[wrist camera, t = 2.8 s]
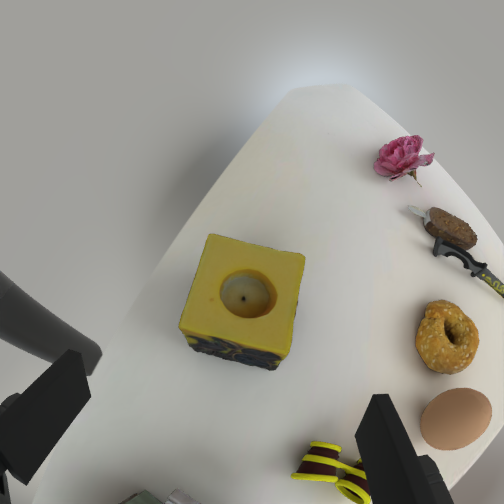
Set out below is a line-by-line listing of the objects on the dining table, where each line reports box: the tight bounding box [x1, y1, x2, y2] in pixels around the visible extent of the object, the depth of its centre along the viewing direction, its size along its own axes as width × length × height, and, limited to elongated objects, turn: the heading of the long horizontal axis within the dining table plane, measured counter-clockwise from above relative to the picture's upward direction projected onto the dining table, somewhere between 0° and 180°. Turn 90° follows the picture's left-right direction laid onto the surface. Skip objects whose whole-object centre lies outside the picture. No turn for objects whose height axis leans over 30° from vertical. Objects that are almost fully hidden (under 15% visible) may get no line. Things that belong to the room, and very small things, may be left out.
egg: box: [420, 388, 492, 450], centre depth 23 cm, size 8×8×11 cm
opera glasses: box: [291, 441, 371, 504], centre depth 23 cm, size 10×5×5 cm, turn 58°
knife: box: [434, 236, 504, 298], centre depth 37 cm, size 23×2×5 cm, turn 58°
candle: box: [178, 234, 305, 371], centre depth 30 cm, size 10×10×10 cm
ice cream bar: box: [408, 206, 478, 250], centre depth 42 cm, size 5×15×3 cm, turn 65°
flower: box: [374, 135, 434, 187], centre depth 47 cm, size 11×10×10 cm
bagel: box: [416, 300, 479, 375], centre depth 31 cm, size 10×11×5 cm
